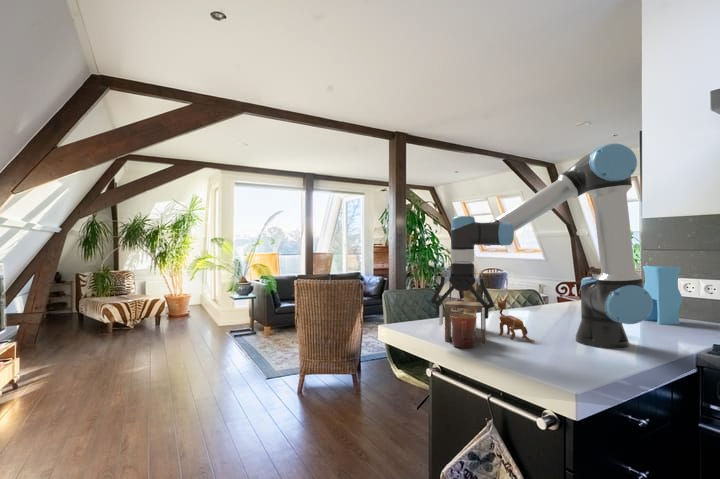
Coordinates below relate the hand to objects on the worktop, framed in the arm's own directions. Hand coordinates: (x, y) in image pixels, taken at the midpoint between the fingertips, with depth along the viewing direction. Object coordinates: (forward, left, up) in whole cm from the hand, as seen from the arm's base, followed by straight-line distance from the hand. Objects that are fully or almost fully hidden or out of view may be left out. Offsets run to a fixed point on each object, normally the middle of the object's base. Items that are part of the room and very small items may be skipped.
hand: (461, 326), depth 121 cm
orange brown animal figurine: (-17, -19, -7) cm, 27 cm away
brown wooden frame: (0, -10, -7) cm, 12 cm away
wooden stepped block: (0, -21, -7) cm, 22 cm away
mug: (-1, 0, -7) cm, 7 cm away
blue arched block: (-77, -69, -7) cm, 104 cm away
